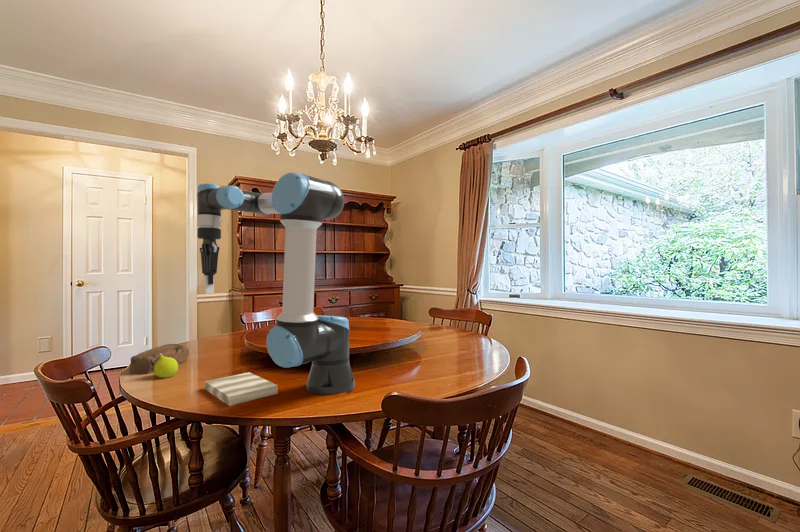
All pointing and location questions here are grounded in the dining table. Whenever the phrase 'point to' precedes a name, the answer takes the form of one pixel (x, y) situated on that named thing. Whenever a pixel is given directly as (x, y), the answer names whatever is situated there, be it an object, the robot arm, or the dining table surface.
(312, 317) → the robot arm
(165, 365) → the ornament
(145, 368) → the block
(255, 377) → the board
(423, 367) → the dining table surface
